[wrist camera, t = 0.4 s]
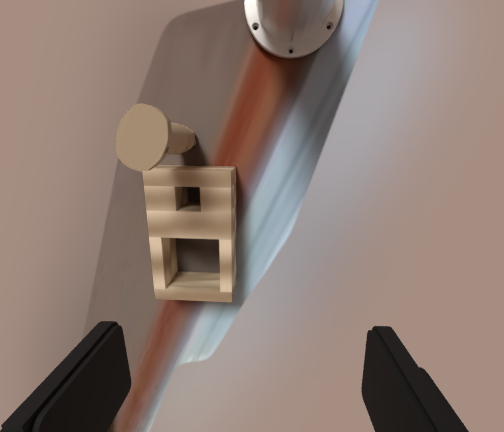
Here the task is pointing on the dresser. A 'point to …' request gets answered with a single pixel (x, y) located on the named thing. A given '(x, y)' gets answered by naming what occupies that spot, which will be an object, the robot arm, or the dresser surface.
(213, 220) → the socket block
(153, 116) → the handle
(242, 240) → the dresser surface
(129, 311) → the dresser surface
